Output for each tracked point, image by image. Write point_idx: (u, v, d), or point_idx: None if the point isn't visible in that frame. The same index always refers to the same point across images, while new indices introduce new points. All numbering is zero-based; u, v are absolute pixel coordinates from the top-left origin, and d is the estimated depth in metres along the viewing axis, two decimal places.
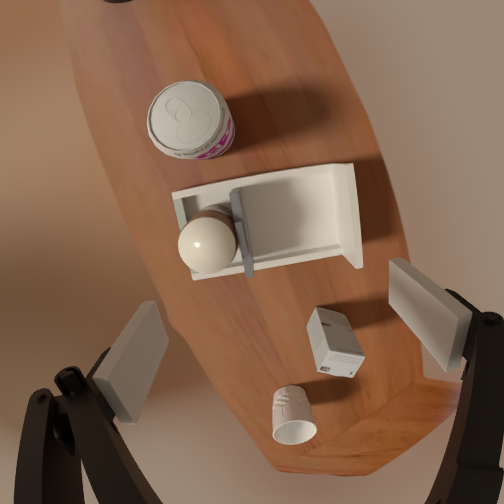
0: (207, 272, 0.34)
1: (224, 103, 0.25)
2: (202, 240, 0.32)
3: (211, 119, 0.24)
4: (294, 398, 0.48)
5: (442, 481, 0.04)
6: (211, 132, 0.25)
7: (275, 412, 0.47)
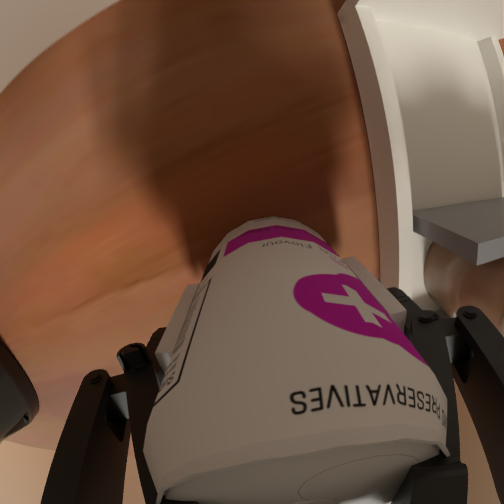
0: None
1: (258, 384, 0.04)
2: None
3: (360, 457, 0.04)
4: None
5: (402, 484, 0.04)
6: None
7: None
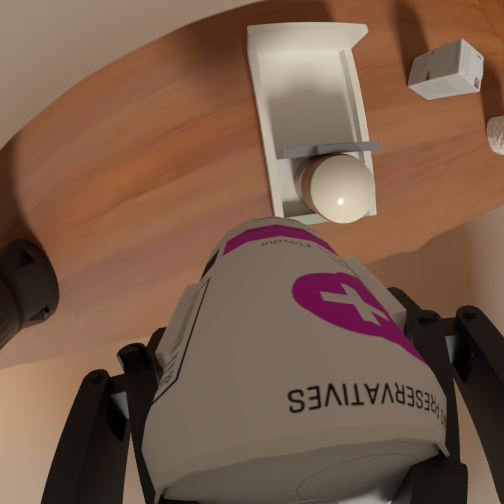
0: (373, 192, 0.26)
1: (256, 382, 0.04)
2: (337, 193, 0.26)
3: (358, 456, 0.04)
4: (500, 129, 0.29)
5: (402, 484, 0.04)
6: None
7: None
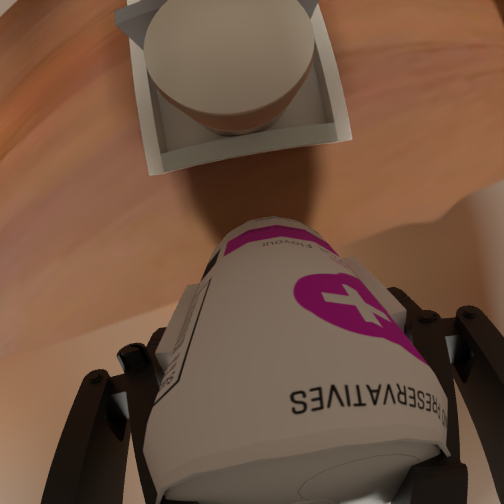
0: (310, 37, 0.08)
1: (258, 383, 0.04)
2: (207, 43, 0.09)
3: (360, 457, 0.04)
4: None
5: (402, 484, 0.04)
6: None
7: None
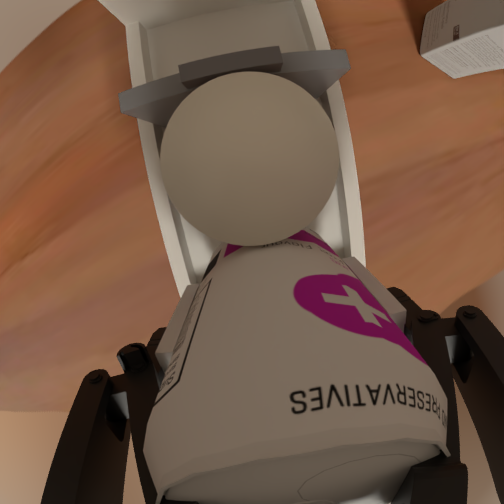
0: (334, 159, 0.10)
1: (258, 383, 0.04)
2: (229, 168, 0.10)
3: (360, 457, 0.04)
4: None
5: (402, 484, 0.04)
6: None
7: None
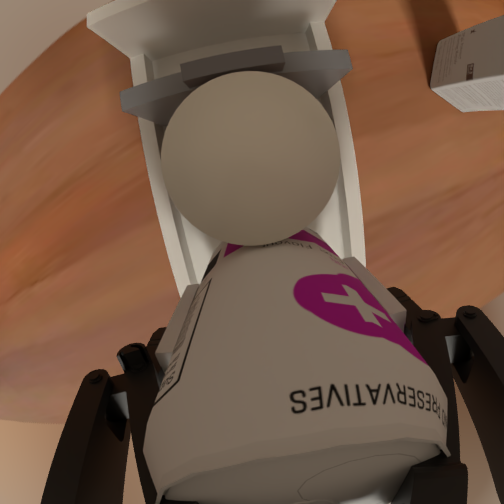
0: (336, 160, 0.10)
1: (258, 383, 0.04)
2: (229, 168, 0.10)
3: (360, 456, 0.04)
4: None
5: (402, 484, 0.04)
6: (420, 441, 0.04)
7: None
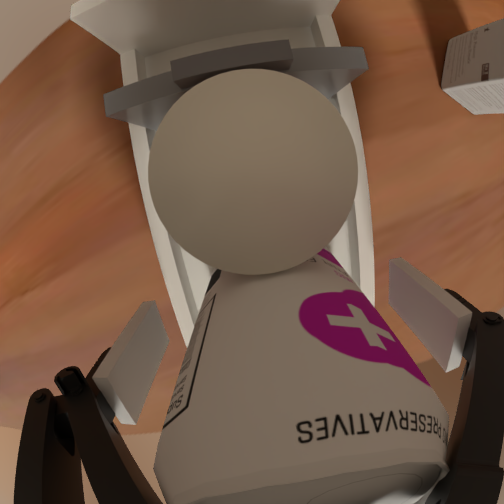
0: (353, 175, 0.08)
1: (266, 414, 0.04)
2: (229, 185, 0.09)
3: (363, 478, 0.04)
4: None
5: (442, 481, 0.04)
6: None
7: None
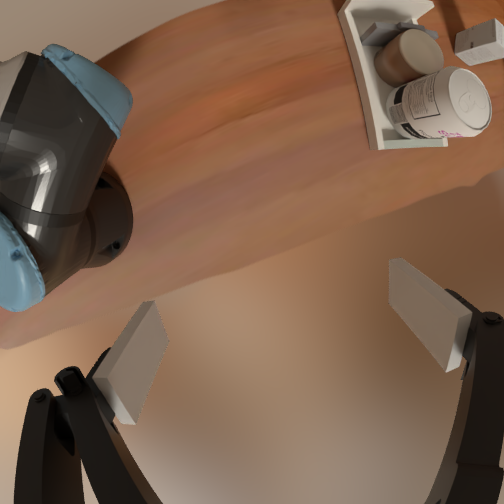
0: (442, 57, 0.24)
1: (453, 66, 0.20)
2: (419, 51, 0.24)
3: (471, 78, 0.19)
4: None
5: (442, 481, 0.04)
6: (478, 81, 0.19)
7: None
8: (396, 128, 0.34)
